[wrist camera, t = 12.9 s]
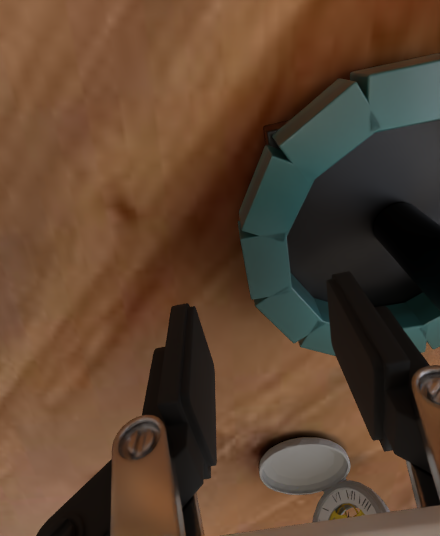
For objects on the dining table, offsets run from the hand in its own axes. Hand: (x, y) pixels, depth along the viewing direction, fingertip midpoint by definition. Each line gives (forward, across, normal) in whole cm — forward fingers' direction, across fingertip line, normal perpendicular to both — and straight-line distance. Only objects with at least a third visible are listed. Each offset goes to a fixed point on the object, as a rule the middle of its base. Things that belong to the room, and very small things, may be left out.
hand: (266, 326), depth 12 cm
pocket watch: (+7, -1, +20) cm, 21 cm away
